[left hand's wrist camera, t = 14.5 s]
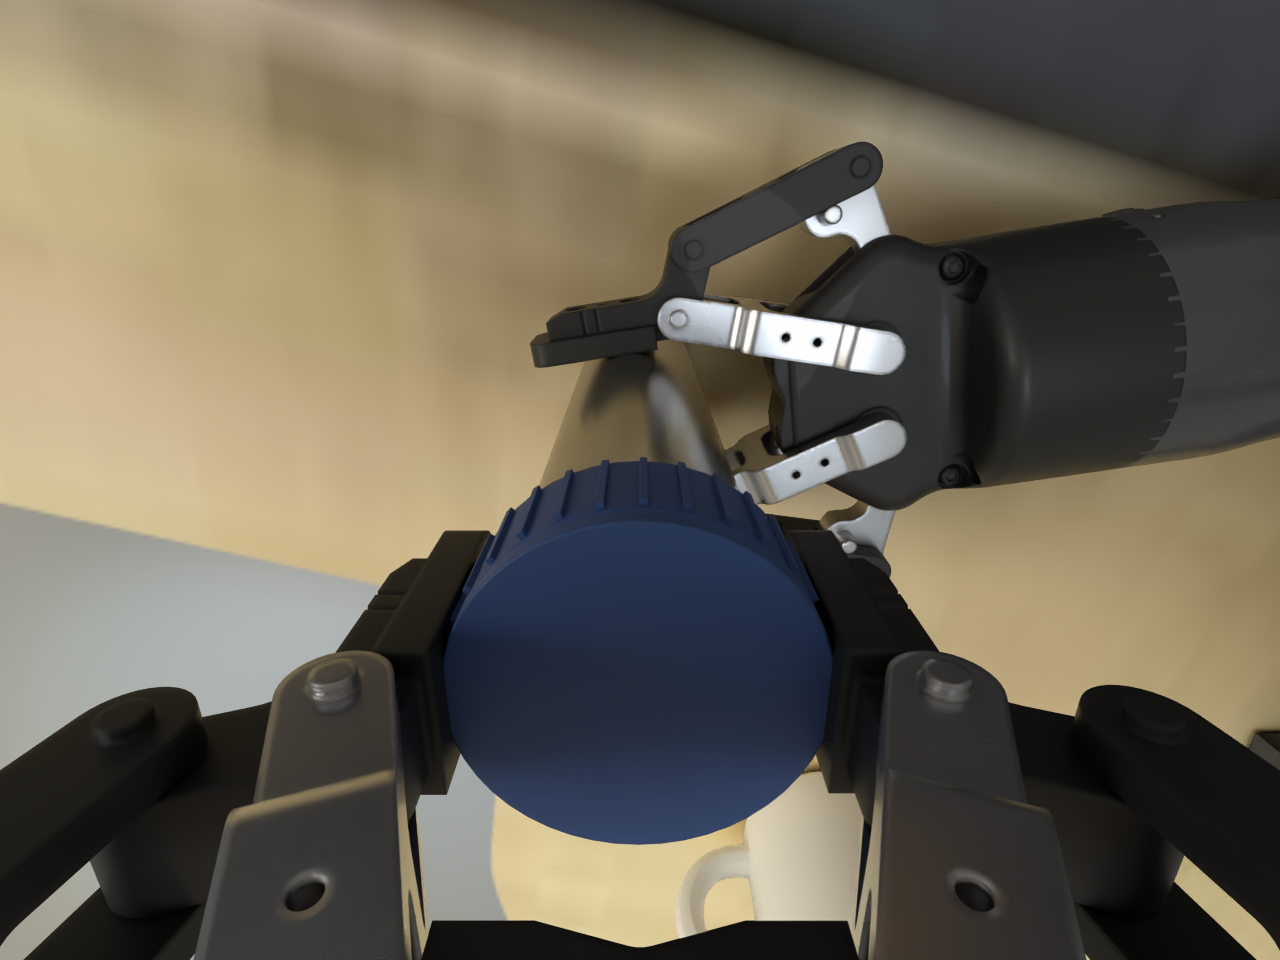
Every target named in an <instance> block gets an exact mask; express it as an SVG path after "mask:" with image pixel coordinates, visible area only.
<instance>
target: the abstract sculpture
mask: <svg viewBox="0 0 1280 960" xmlns="http://www.w3.org/2000/svg"><path fill="white" fill-rule="evenodd" d="M1250 750H1251V751H1252V752H1254V753H1255V754H1257V755H1258V756H1260V757H1261V758H1263V759H1264V760H1266V761H1267V762H1268V763H1270V764H1271V765H1273V766H1274V767H1276V768H1277V769H1279V770H1280V733H1256V734H1255V737H1254V739H1253V742H1252V744H1251V746H1250Z"/></svg>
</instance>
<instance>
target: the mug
mask: <svg viewBox="0 0 1280 960" xmlns="http://www.w3.org/2000/svg"><path fill="white" fill-rule="evenodd" d="M862 820H863V815H862V812H861V809H860V807H859V804H858V801H857V799H856V796H855V793H828V790H827V787H826V784H825V781H824V778H823V775H822V772H821V771H818V772H810V773H805V774H801V775H800V776H799V778H798V779H797V780H796V781H795V782H794V783H793V784H792V785H791V786H790V787H789V788H788V789H787V790H786V791H785V792H784V793H782V794H781V795H780V796H779V797H777V798H776V799H775V800H774V801H772V802H771V803H770V804H769V805H767V806H766V807H764V808H762V809H761V810H759V811H758V812H756V813H754V814H753V815H751V816H750V817H748V818H747V821H746V823H745V828H744V845H731V846H726V847H722V848H718V849H715V850H713V851H711V852H709V853H707V854H705V855H704V856H702V857H701V858H700V859H698V860H697V861H696V862H695V863H694V864H693V865H692V866H691V867H690V868H689V870H688V872H687V873H686V875H685V876H684V878H683V881H682V883H681V886H680V889H679V892H678V897H677V902H676V926H677V932H678V936H679V938H683V937H687V936H691V935H694V934H698V933H702V932H705V931H707V929H706V926H705V921H704V902H705V898H706V895H707V893H708V891H709V890H710V889H711V887H712V886H713V885H714V884H716V883H717V882H719V881H721V880H724V879H727V878H736V877H742V878H748V879H749V884H750V891H751V897H752V903H753V910H754V916H755V921H848V924H849V927H850V930H851V934H852V924H853V913H854V902H855V890H856V879H857V867H858V856H859V845H860V833H861V827H862Z"/></svg>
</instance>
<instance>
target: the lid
mask: <svg viewBox="0 0 1280 960" xmlns="http://www.w3.org/2000/svg"><path fill="white" fill-rule="evenodd" d="M462 592H463V593H462V595H461V597H460V599H459V601H458V603H457V605H456V608H455V610H454V612H453V614H452V616H451V618H450V624H451V626H453V627H452V630H451V632H450V634H449V637H448V641H447V644H446V648H445V651H444V655H443V668H444V677H445V685H446V693H447V701H448V708H449V716H450V724H451V731H452V737H453V740H454V742H455V743H456V745H457V747H458V749H459V751H460V753H461V754H462V756H463V758H464V759H465V761H466V762H467V764H468V765H469V766H470V768H471V769H472V770H473V771H474V773H475V774H476V776H477V777H478V778H479V779H480V780H481V781H482V782H483V783H484V784H485V785H486V786H487V787H488V788H489V789H490V790H491V791H492V792H493V793H494V794H496V795H497V796H498V797H499V798H501V799H502V800H503V801H504V802H506V803H507V804H508V805H510V806H511V807H513V808H514V809H516V810H518V811H519V812H521V813H522V814H524V815H526V816H527V817H529V818H531V819H533V820H535V821H537V822H539V823H541V824H543V825H546V826H548V827H550V828H553V829H556V830H558V831H561V832H564V833H567V834H570V835H573V836H578V837H582V838H586V839H590V840H595V841H601V842H608V843H615V844H636V845H641V844H662V843H669V842H675V841H682V840H687V839H691V838H695V837H699V836H703V835H707V834H710V833H713V832H716V831H718V830H721V829H724V828H727V827H729V826H731V825H733V824H735V823H738V822H740V821H742V820H744V819H746V818H748V817H750V816H751V815H753V814H754V813H756V812H758V811H759V810H761V809H762V808H764V807H766V806H767V805H769V804H770V803H771V802H772V801H774V800H775V799H776V798H777V797H779V796H780V795H781V794H782V793H784V792H785V791H786V790H787V789H788V788H789V787H790V786H791V785H792V784H793V783H794V782H795V781H796V780H797V779H798V778H799V776H800V775H801V774H802V773H803V771H804V770H805V769H806V767H807V766H808V765H809V763H810V762H811V761H812V759H813V758H814V756H815V754H816V752H817V750H818V749H819V747H820V745H821V743H822V741H823V736H824V729H825V721H826V713H827V705H828V697H829V689H830V681H831V673H832V664H833V652H832V648H831V645H830V641H829V638H828V634H827V632H826V630H825V628H824V626H823V623H822V621H821V619H820V617H819V614H818V612H817V610H816V608H815V605H814V603H813V602H816V601H818V600H819V599H818V596H817V594H816V592H815V590H814V588H813V586H812V584H811V581H810V579H809V577H808V575H807V573H806V571H805V569H804V566H803V564H802V562H801V560H800V558H799V556H798V554H797V551H796V549H795V547H794V545H793V543H792V541H790V542H788V543H787V541H786V539H785V537H784V535H783V533H782V530H781V528H780V526H779V524H778V521H777V519H776V518H775V516H774V515H773V514H771V515H770V516H767V515H766V514H765V513H764V512H763V511H762V509H761V508H759V507H758V506H757V505H756V504H755V503H754V500H753V498H752V495H751V494H750V493H749V492H748V491H745V492H744V493H741V492H739V491H738V490H736V489H735V488H733V487H732V486H730V485H729V484H727V483H725V482H723V481H722V479H721V476H720V475H719V474H716V473H714V474H713V475H712V476H710V475H708V474H706V473H703V472H700V471H697V470H694V469H691V468H687V467H686V466H685V463H684V462H680V461H678V463H677V465H674V464H668V463H663V462H649V461H647V457H640V461H628V462H614V463H609V460H602V462H601V465H598V466H593V467H590V468H587V469H583V470H580V471H577V472H573V470H572V469H570V470H568V471H566V472H565V475H564V477H563V478H560V479H558V480H556V481H554V482H552V483H550V484H549V485H547V486H545V487H544V488H542V489H541V487H540V486H537V487H535V488H534V489H533V491H532V494H531V496H530V497H529V498H528V499H527V500H526V501H525V502H523V503H522V504H521V505H520V506H519V507H518V508H516V510H514V509H513V508H510V509H509V510H508V511H507V512H506V515H505V517H504V519H503V521H502V524H501V526H500V528H499V530H498V532H497V534H496V535H495V536H494V535H492V534H489V536H488V538H487V540H486V542H485V544H484V546H483V548H482V550H481V552H480V555H479V557H478V559H477V561H476V563H475V565H474V567H473V569H472V572H471V574H470V576H469V578H468V580H467V582H466V584H465V587H464V589H463V591H462Z"/></svg>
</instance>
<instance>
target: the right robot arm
mask: <svg viewBox="0 0 1280 960" xmlns="http://www.w3.org/2000/svg"><path fill="white" fill-rule="evenodd" d="M882 168H883V160H882V156H881V153H880V151H879V150H878V149H877V148H876V147H875V146H874V145H872V144H871V143H868V142H857V143H854V144H851V145H848V146H845V147H841V148H838V149H835V150H832V151H830V152H827V153H825V154H823V155H821V156H820V157H818V158H816V159H814V160H812V161H810V162H808V163H806V164H804V165H802V166H800V167H798V168H796V169H794V170H792V171H790V172H788V173H786V174H784V175H782V176H780V177H778V178H776V179H774V180H772V181H770V182H768V183H766V184H764V185H762V186H760V187H758V188H756V189H754V190H752V191H750V192H748V193H746V194H744V195H742V196H740V197H738V198H736V199H734V200H732V201H730V202H728V203H726V204H724V205H722V206H720V207H718V208H717V209H715V210H713V211H711V212H709V213H707V214H705V215H703V216H701V217H699V218H697V219H695V220H693V221H691V222H689V223H687V224H685V225H683V226H681V227H679V228H677V229H676V230H675V231H674V232H673V233H672V235H671V237H670V239H669V243H668V252H667V257H666V262H665V267H664V271H663V276H662V279H661V281H660V283H659V285H658V286H657V287H656V288H655V289H654V290H653V291H652V292H650V293H648V294H646V295H642V296H636V297H630V298H624V299H618V300H611V301H605V302H599V303H592V304H587V305H580V306H574V307H567V308H565V309H564V310H562V311H560V312H559V313H557V314H556V315H554V316H552V317H551V319H550V320H549V321H548V322H547V323H546V325H547V330H548V332H547V333H543V334H540V335H537V336H536V337H535V338H534V339H533V340H532V342H531V343H530V346H531V351H532V355H533V360H534V365H535V367H538V368H542V367H551V366H557V365H564V364H570V363H577V362H583V361H590V360H596V359H603V358H609V357H616V356H620V355H626V354H634V353H641V352H648V351H654V350H658V346H657V341H662V340H668V339H671V340H675V341H681V342H688V343H695V344H702V345H708V346H715V347H722V348H729V349H733V350H736V351H739V352H742V353H746V354H750V355H756V356H763V357H764V365H765V368H766V371H767V373H768V376H769V379H770V381H771V384H772V394H771V399H770V405H769V410H768V413H769V424H770V425H768V426H765V427H763V428H761V429H759V430H757V431H754V432H752V433H750V434H748V435H746V436H744V437H742V438H741V439H740V440H739V441H738V442H737V444H736V445H734V446H733V447H731V448H729V449H727V450H725V453H726V455H727V458H728V461H729V463H730V466H731V469H732V472H733V474H734V477H735V480H736V483H737V485H738V488H739V491H740V492H741V493H744V492H745V491H748V492H749V493H750V494H751V495H752V498H753V500H754V503H755V504H761V503H762V504H768V505H769V504H775V503H778V502H781V501H783V500H786V499H788V498H790V497H792V496H795V495H797V494H799V493H802V492H804V491H806V490H809V489H811V488H813V487H816V486H818V485H820V484H823V483H825V484H827V485H829V486H831V487H833V488H835V489H837V490H839V491H841V492H843V493H845V494H847V495H849V496H851V497H853V498H855V499H857V500H858V501H857V502H856V504H854V505H853V506H852V507H850V508H848V509H844V510H833V511H828V512H826V513H825V515H824V516H823V517H822V518H821V520H820V521H819V520H811V519H804V518H796V517H788V516H780V515H774V516H775V518H776V519H777V521H778V524H779V526H780V528H781V530H782V533H783V535H784V537H785V534H786V532H787V530H831V531H832V532H833V533H834V535H835V537H836V538H837V540H838V542H839V543H840V545H841V547H842V548H843V550H844V551H845V553H846V555H847V556H848V558H864V559H865V560H867V561H868V562H870V563H871V564H873V565H874V566H876V567H877V568H879V569H880V570H882V571H883V572H885V573H886V574H887V576H888V577H890V575H891V567H890V565H889V563H888V562H887V560H886V559H885V557H884V555H883V550H884V547H885V544H886V540H887V537H888V534H889V530H890V527H891V524H892V520H893V517H894V514H895V510H900V509H903V508H906V507H908V506H910V505H912V504H913V503H915V502H916V501H918V500H919V499H921V498H923V497H924V496H926V495H928V494H930V493H933V492H935V491H938V490H942V489H952V488H983V487H991V486H998V485H1005V484H1012V483H1019V482H1026V481H1033V480H1041V479H1048V478H1055V477H1062V476H1069V475H1076V474H1083V473H1090V472H1097V471H1104V470H1111V469H1118V468H1124V467H1132V466H1139V465H1147V464H1154V463H1161V462H1169V461H1176V460H1183V459H1190V458H1196V457H1202V456H1207V455H1212V454H1216V453H1221V452H1225V451H1229V450H1233V449H1236V448H1240V447H1244V446H1247V445H1251V444H1254V443H1257V442H1261V441H1265V440H1269V439H1274V438H1280V197H1279V198H1274V199H1266V200H1257V201H1215V202H1197V203H1188V204H1180V205H1173V206H1166V207H1160V208H1154V209H1146V210H1145V209H1134V208H1128V209H1122V210H1118V211H1113V212H1110V213H1106V214H1104V215H1102V216H1101V217H1097V218H1090V219H1084V220H1078V221H1072V222H1065V223H1059V224H1053V225H1047V226H1041V227H1035V228H1028V229H1022V230H1016V231H1010V232H1003V233H997V234H991V235H985V236H979V237H972V238H966V239H960V240H954V241H948V242H941V243H934V244H922V243H919V242H916V241H914V240H912V239H909V238H907V237H904V236H900V235H891V233H890V230H889V227H888V224H887V221H886V218H885V215H884V211H883V208H882V205H881V202H880V199H879V196H878V193H877V190H876V187H875V183H876V182H877V181H878V179H879V177H880V175H881V173H882ZM796 224H800V226H801V228H802V230H803V231H804V232H805V233H807V234H809V235H811V236H816V237H831V236H834V235H838V234H839V235H841V236H843V237H845V238H846V239H847V240H848V242H849V244H850V246H851V247H850V248H849V249H848V250H847V251H846V252H845V253H843V254H842V255H841V256H840V257H839V258H838V259H837V260H836V261H835V262H834V263H833V264H832V265H831V266H830V267H829V268H828V269H826V270H825V271H824V272H823V273H822V274H821V275H820V276H819V277H818V278H817V279H816V280H815V281H814V282H813V283H812V284H811V285H809V286H808V287H807V288H806V289H805V290H804V291H803V292H802V293H801V294H800V295H799V296H798V297H797V298H796V299H795V300H794V301H792V302H791V303H790V304H784V303H778V302H771V301H764V300H758V299H751V298H744V297H729V296H721V295H715V294H708V293H704V292H705V288H706V283H707V279H708V274H709V270H710V267H711V266H713V265H715V264H717V263H719V262H721V261H723V260H725V259H727V258H729V257H731V256H733V255H735V254H737V253H739V252H741V251H744V250H746V249H748V248H750V247H752V246H754V245H756V244H758V243H760V242H762V241H764V240H766V239H768V238H770V237H772V236H774V235H776V234H778V233H780V232H782V231H784V230H786V229H788V228H790V227H792V226H794V225H796ZM775 442H776V443H775ZM795 471H796V472H795ZM794 472H795V473H794ZM766 515H767V516H770V515H771V514H766Z"/></svg>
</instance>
